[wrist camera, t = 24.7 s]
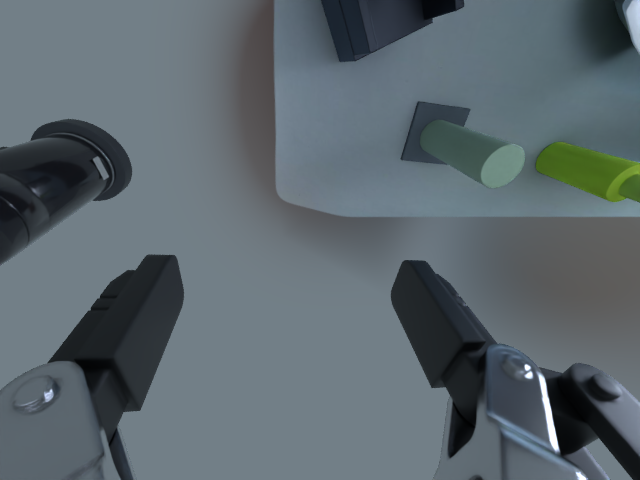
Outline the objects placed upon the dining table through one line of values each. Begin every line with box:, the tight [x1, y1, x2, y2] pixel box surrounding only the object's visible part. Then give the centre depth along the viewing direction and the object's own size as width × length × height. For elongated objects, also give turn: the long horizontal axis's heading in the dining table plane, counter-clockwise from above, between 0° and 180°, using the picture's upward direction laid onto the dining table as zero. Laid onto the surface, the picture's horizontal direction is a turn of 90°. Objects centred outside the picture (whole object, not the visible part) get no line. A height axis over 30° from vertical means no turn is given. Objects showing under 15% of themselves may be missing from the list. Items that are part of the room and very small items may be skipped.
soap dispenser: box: [536, 142, 640, 202], centre depth 41 cm, size 6×7×20 cm
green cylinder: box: [420, 120, 525, 188], centre depth 37 cm, size 5×5×16 cm
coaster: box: [401, 102, 470, 165], centre depth 43 cm, size 9×9×1 cm
